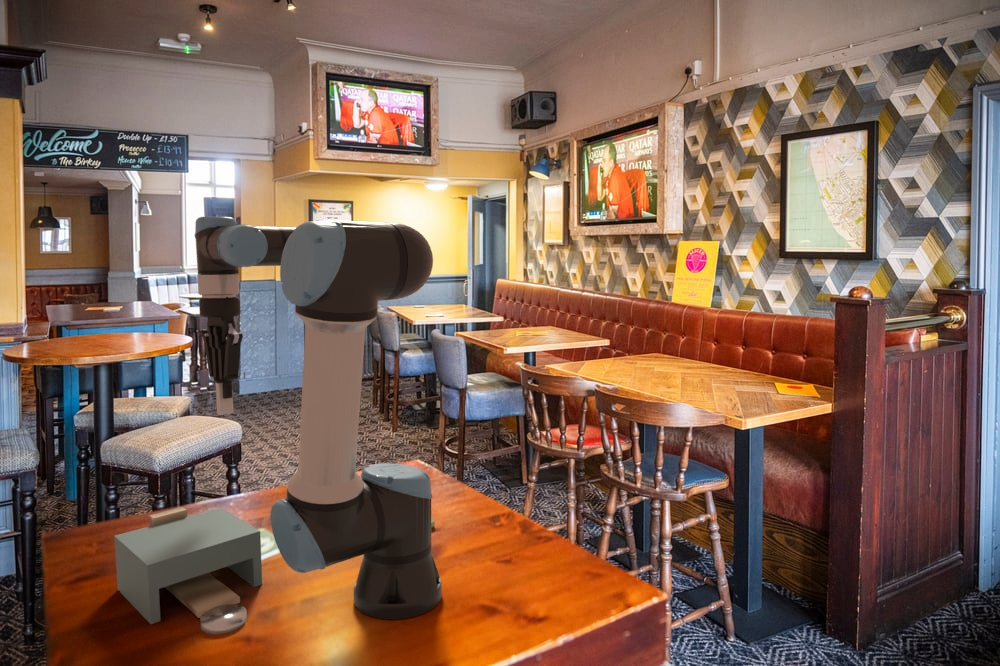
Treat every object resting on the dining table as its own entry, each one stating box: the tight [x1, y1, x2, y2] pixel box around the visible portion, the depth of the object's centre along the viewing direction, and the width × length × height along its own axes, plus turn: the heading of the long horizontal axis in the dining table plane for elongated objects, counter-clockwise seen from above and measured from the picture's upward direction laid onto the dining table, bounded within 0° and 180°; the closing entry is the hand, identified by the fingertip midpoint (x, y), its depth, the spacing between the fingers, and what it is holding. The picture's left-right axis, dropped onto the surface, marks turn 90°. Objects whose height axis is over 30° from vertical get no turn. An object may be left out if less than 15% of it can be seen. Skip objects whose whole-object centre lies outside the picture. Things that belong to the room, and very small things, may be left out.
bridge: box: [113, 507, 263, 625], centre depth 123 cm, size 16×19×10 cm
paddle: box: [148, 506, 241, 619], centre depth 123 cm, size 22×7×11 cm, turn 46°
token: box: [199, 604, 248, 635], centre depth 113 cm, size 7×7×2 cm
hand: (225, 413), depth 139 cm, fingers closed
